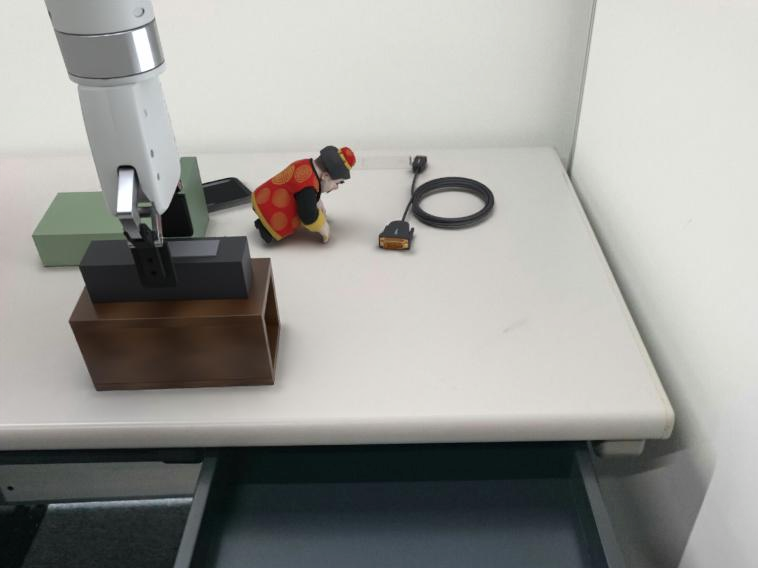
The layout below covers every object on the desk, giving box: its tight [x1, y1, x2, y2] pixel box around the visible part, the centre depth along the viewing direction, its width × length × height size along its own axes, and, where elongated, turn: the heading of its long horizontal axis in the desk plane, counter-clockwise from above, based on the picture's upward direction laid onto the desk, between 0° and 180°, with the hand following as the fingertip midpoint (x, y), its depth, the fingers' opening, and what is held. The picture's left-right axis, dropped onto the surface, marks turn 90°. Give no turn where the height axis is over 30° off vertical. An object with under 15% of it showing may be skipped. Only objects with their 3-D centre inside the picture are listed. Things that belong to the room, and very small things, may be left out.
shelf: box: [68, 257, 282, 392], centre depth 74 cm, size 18×11×8 cm, turn 93°
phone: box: [202, 176, 253, 214], centre depth 102 cm, size 8×1×15 cm
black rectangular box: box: [78, 235, 253, 303], centre depth 70 cm, size 15×5×4 cm, turn 93°
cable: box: [378, 154, 496, 250], centre depth 100 cm, size 14×28×2 cm, turn 169°
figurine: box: [251, 145, 357, 245], centre depth 93 cm, size 10×10×15 cm
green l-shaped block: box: [31, 156, 210, 267], centre depth 92 cm, size 19×12×8 cm, turn 93°
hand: (170, 259), depth 69 cm, fingers open, 9 cm apart
